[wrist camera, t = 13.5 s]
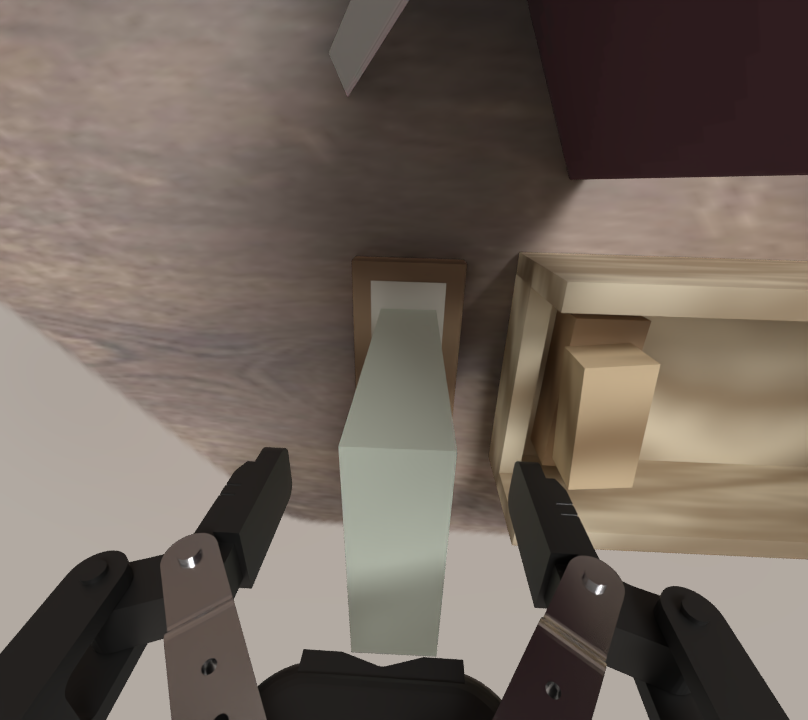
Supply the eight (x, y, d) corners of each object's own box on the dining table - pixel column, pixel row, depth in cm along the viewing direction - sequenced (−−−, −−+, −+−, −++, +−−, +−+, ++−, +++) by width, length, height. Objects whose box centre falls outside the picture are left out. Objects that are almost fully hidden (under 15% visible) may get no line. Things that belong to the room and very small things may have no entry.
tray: (519, 252, 20) (567, 281, 14) (970, 266, 20) (1242, 304, 13) (488, 456, 26) (512, 545, 20) (836, 471, 26) (979, 567, 19)
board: (355, 256, 21) (351, 261, 19) (463, 259, 21) (467, 264, 19) (360, 433, 26) (357, 447, 24) (447, 437, 26) (449, 451, 24)
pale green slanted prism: (380, 308, 20) (338, 446, 9) (435, 310, 20) (457, 451, 9) (381, 442, 24) (351, 652, 13) (427, 444, 24) (436, 656, 13)
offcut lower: (558, 303, 20) (576, 318, 18) (625, 306, 20) (651, 321, 18) (530, 439, 24) (542, 465, 22) (586, 441, 24) (604, 467, 22)
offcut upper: (564, 346, 19) (584, 368, 16) (630, 342, 18) (660, 364, 16) (552, 458, 21) (568, 489, 19) (609, 455, 21) (632, 487, 19)
